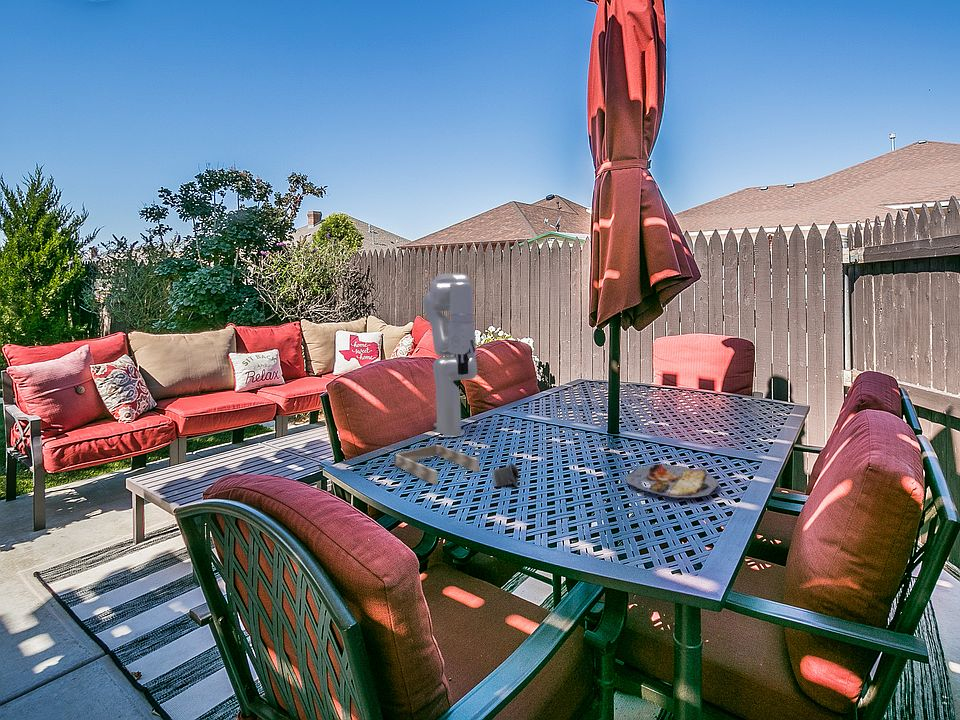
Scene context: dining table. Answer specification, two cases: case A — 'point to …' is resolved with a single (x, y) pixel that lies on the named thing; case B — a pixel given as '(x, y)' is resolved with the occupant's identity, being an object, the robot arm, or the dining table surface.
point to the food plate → (665, 475)
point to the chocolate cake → (505, 476)
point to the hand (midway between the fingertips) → (463, 374)
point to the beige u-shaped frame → (424, 472)
